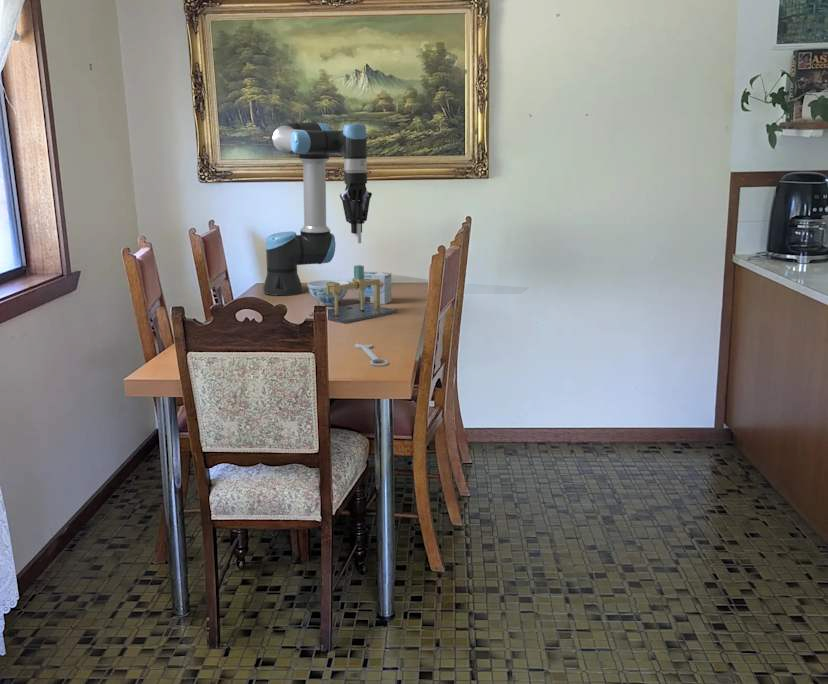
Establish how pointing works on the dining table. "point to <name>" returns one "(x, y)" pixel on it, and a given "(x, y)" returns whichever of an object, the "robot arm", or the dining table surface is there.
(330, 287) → the divider frame
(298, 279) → the robot arm
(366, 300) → the light bulb box
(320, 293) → the chinaware
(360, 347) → the wrench
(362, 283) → the sliding head
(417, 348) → the dining table surface
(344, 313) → the flange plate
